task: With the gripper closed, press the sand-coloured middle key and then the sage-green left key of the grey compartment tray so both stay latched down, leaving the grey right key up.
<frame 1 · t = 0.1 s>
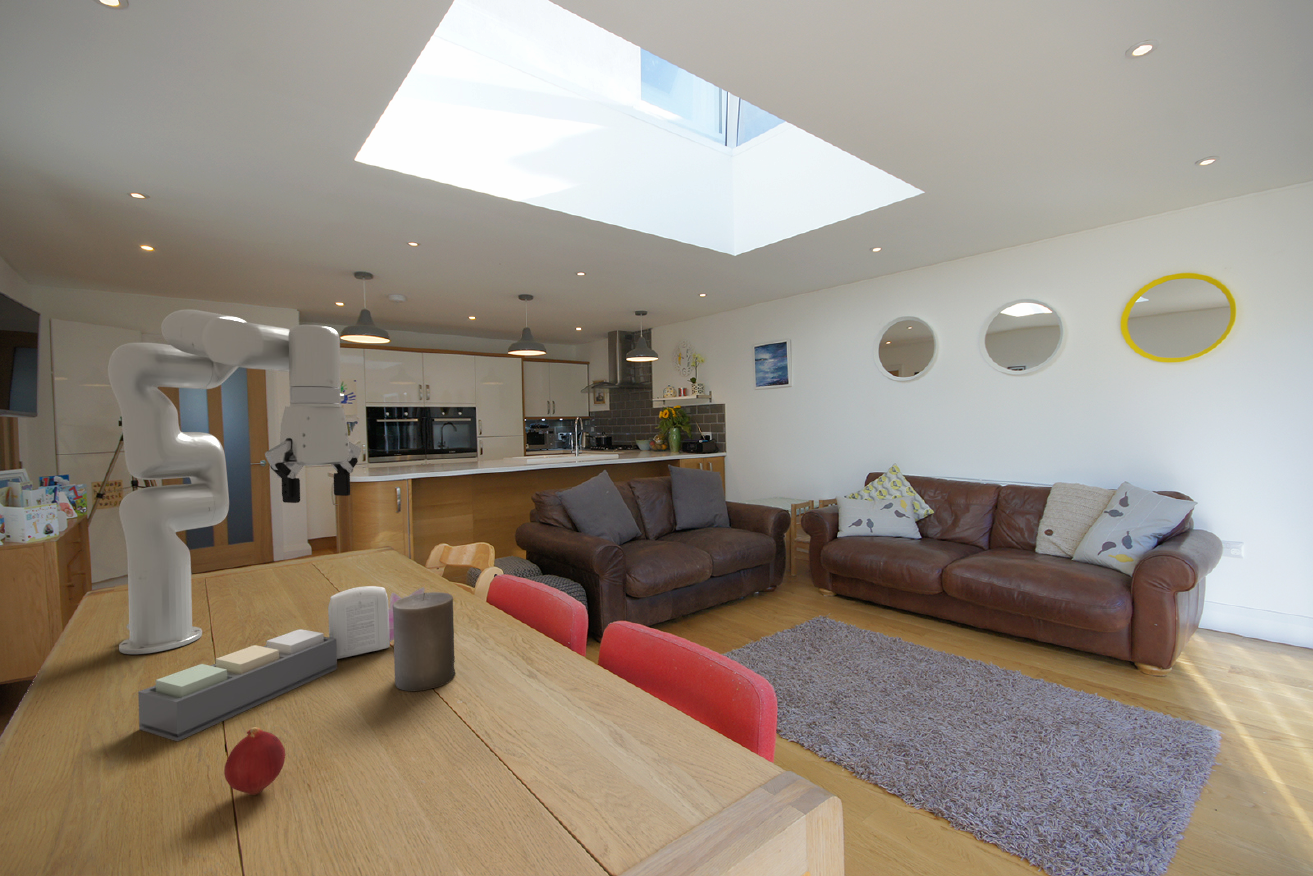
hand: (317, 498, 97), 31 cm above the table, tool pointing down, fingers open, 9 cm apart
grey compartment tray: (248, 696, 91), on the table
key sage: (192, 688, 84), point 5 cm above the table, slide at 0.0 cm
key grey: (295, 648, 99), point 5 cm above the table, slide at 0.0 cm
key sand: (248, 666, 91), point 5 cm above the table, slide at 0.0 cm
pillar candle: (424, 680, 97), on the table
photo printer: (361, 653, 109), on the table, touching lily
onion: (256, 795, 67), on the table
lily: (402, 642, 114), on the table, touching photo printer
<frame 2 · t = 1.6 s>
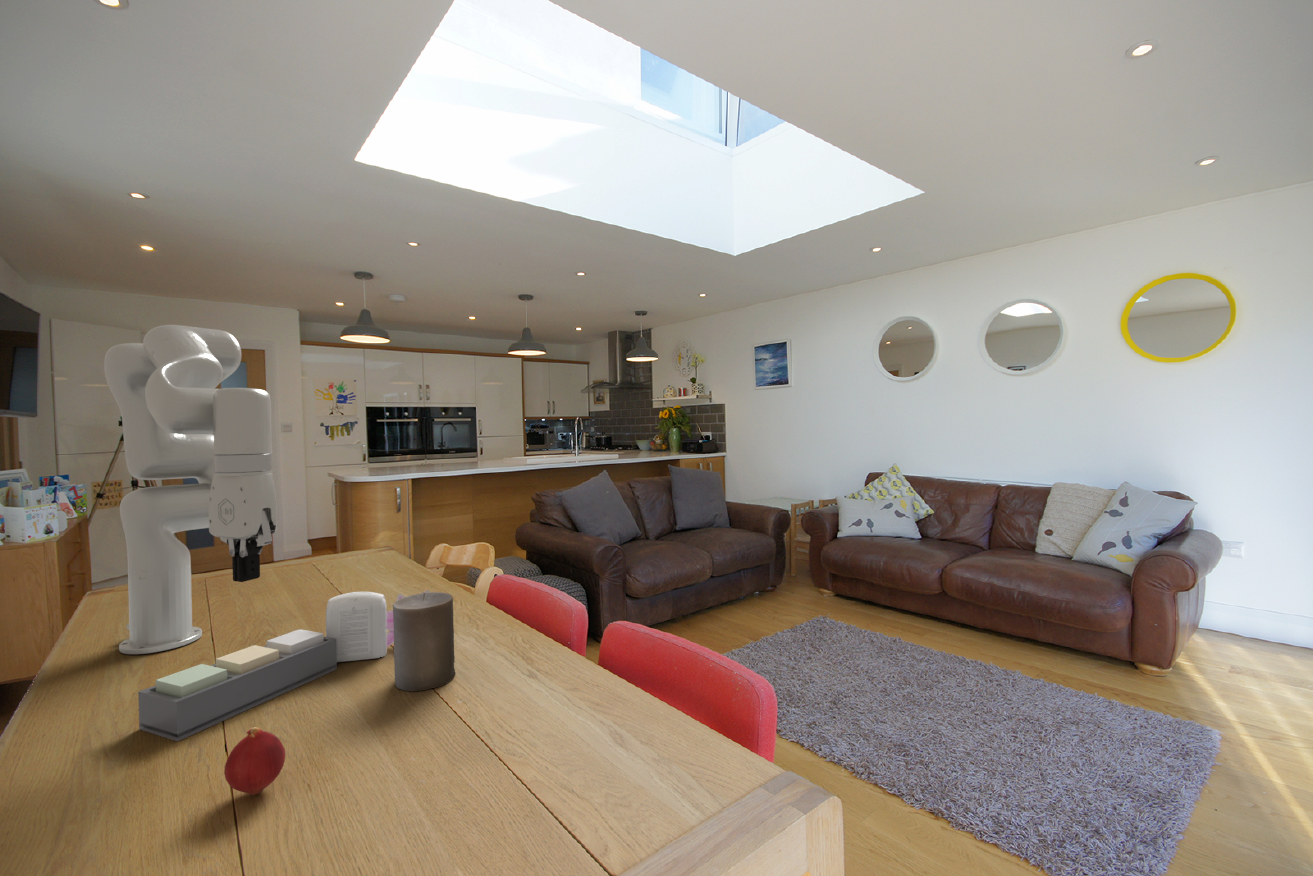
hand: (246, 579, 91), 19 cm above the table, tool pointing down, fingers closed
photo printer: (357, 659, 106), on the table
lily: (406, 644, 114), on the table
everything else where it was.
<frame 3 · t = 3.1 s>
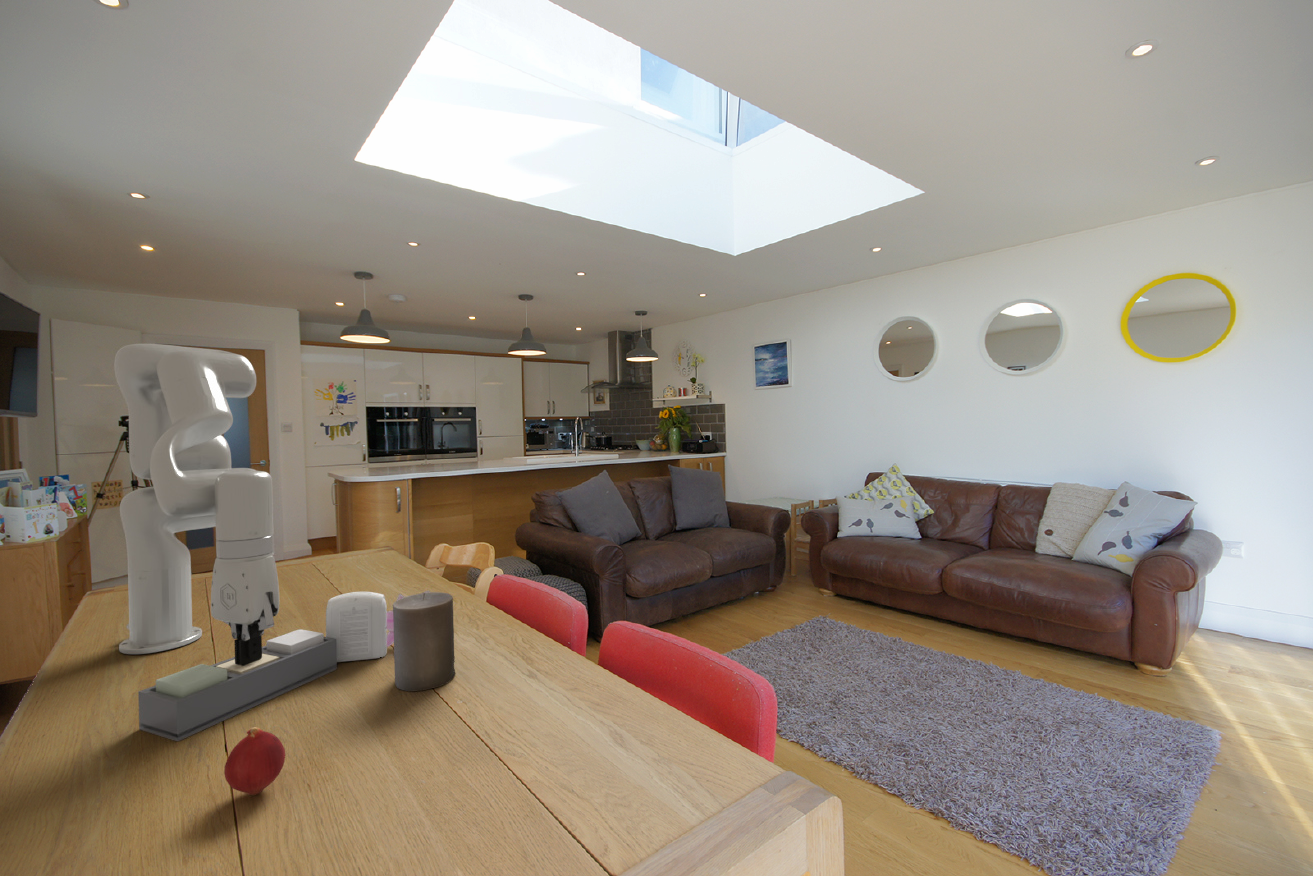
hand: (248, 661, 91), 6 cm above the table, tool pointing down, fingers closed
key sand: (248, 673, 91), point 4 cm above the table, slide at 1.2 cm, touching gripper
everything else where it was.
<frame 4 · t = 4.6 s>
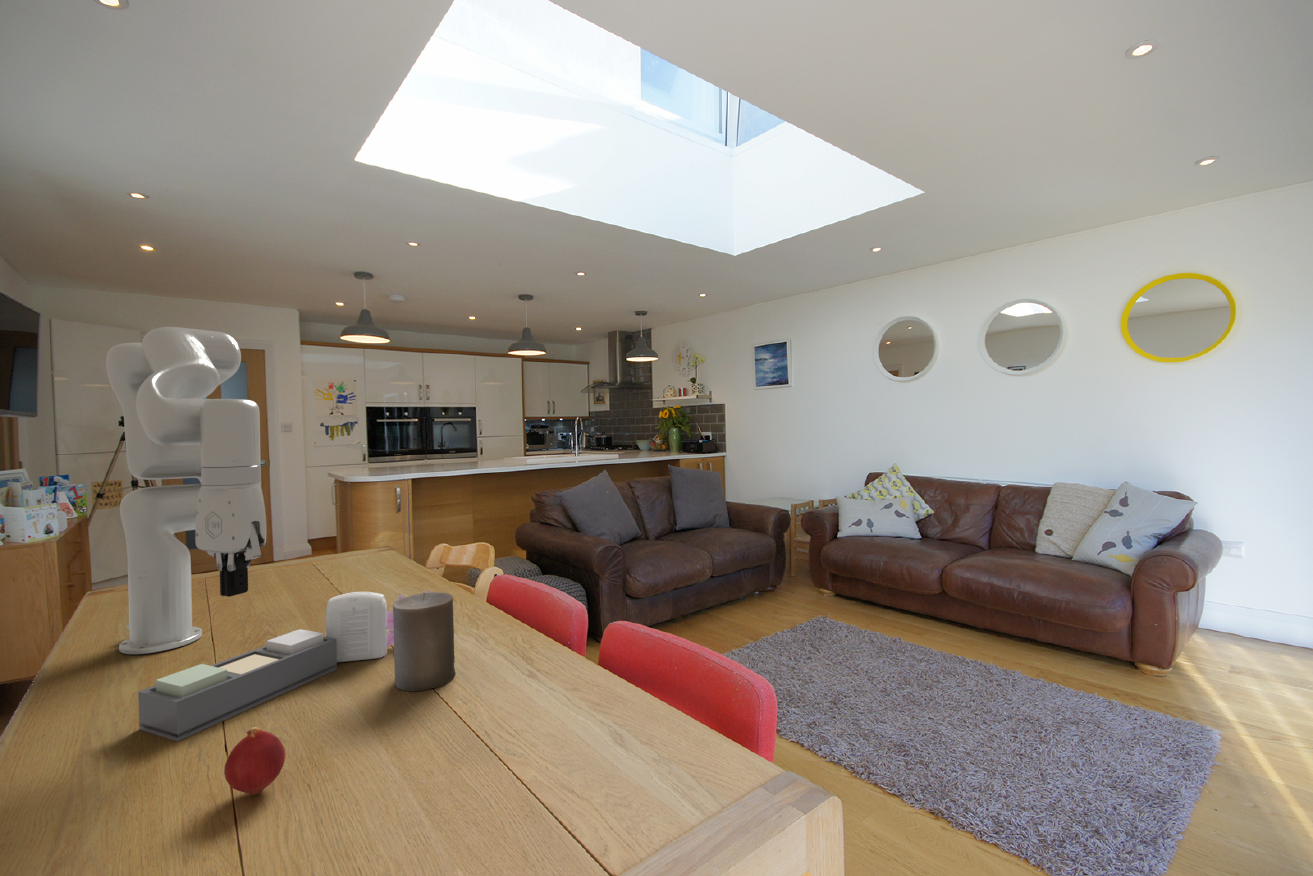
hand: (234, 593, 89), 17 cm above the table, tool pointing down, fingers closed
key sand: (248, 676, 91), point 3 cm above the table, slide at 1.6 cm
everything else where it was.
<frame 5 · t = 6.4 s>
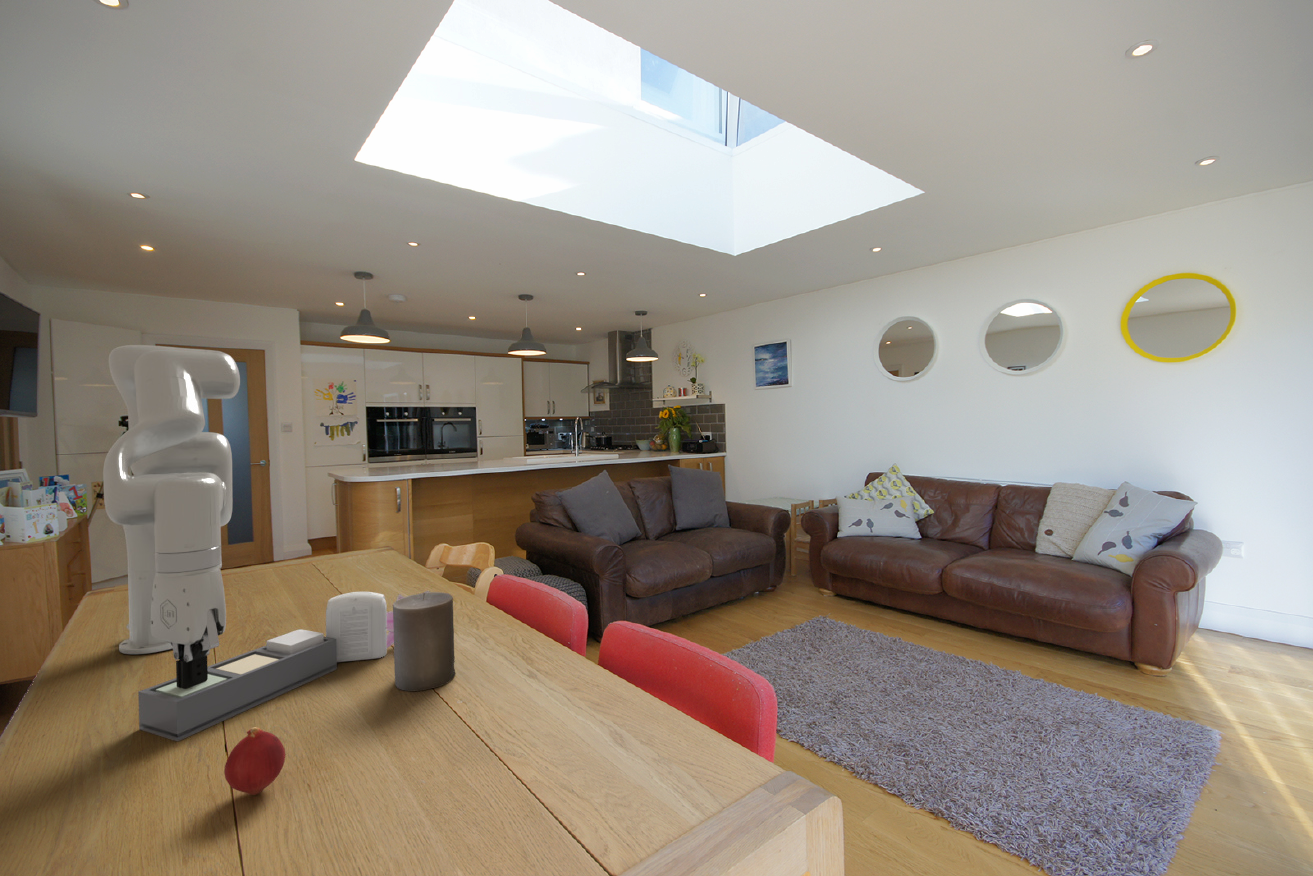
hand: (192, 684, 84), 5 cm above the table, tool pointing down, fingers closed
key sage: (192, 697, 84), point 3 cm above the table, slide at 1.4 cm, touching gripper
everything else where it was.
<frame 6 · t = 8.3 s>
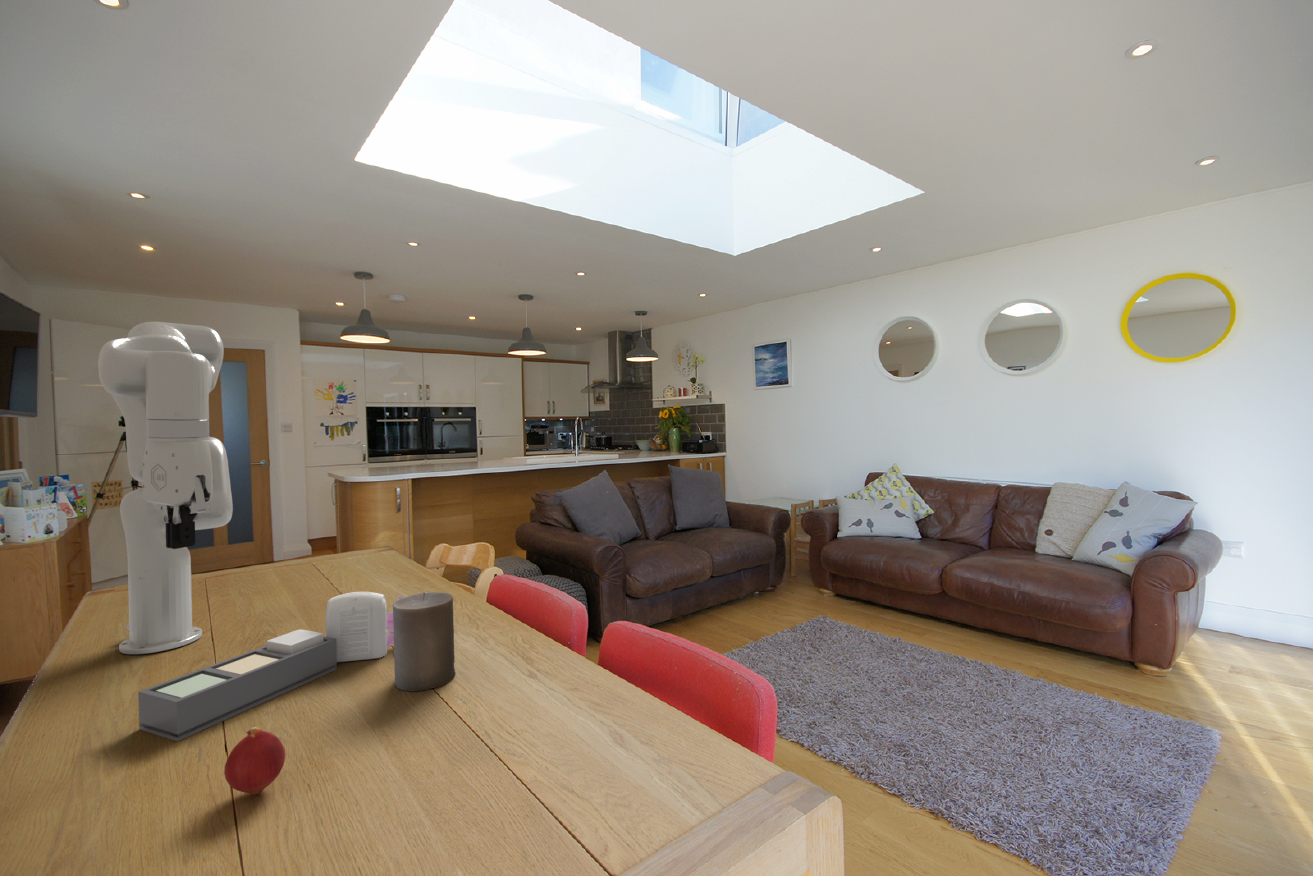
hand: (180, 546, 90), 25 cm above the table, tool pointing down, fingers closed
key sage: (192, 698, 84), point 3 cm above the table, slide at 1.6 cm
everything else where it was.
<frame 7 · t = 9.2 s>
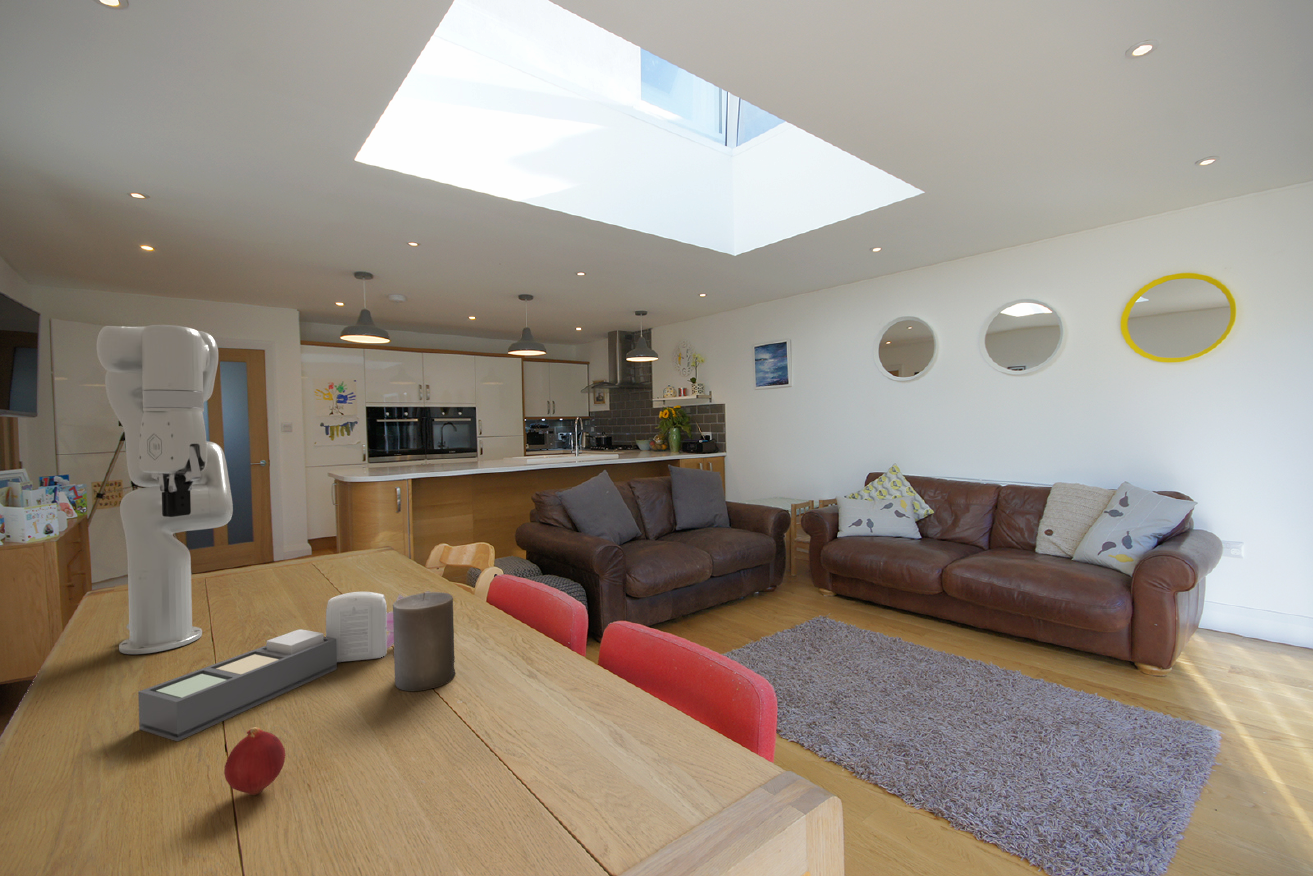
hand: (176, 515, 92), 29 cm above the table, tool pointing down, fingers closed
nothing on the table moved.
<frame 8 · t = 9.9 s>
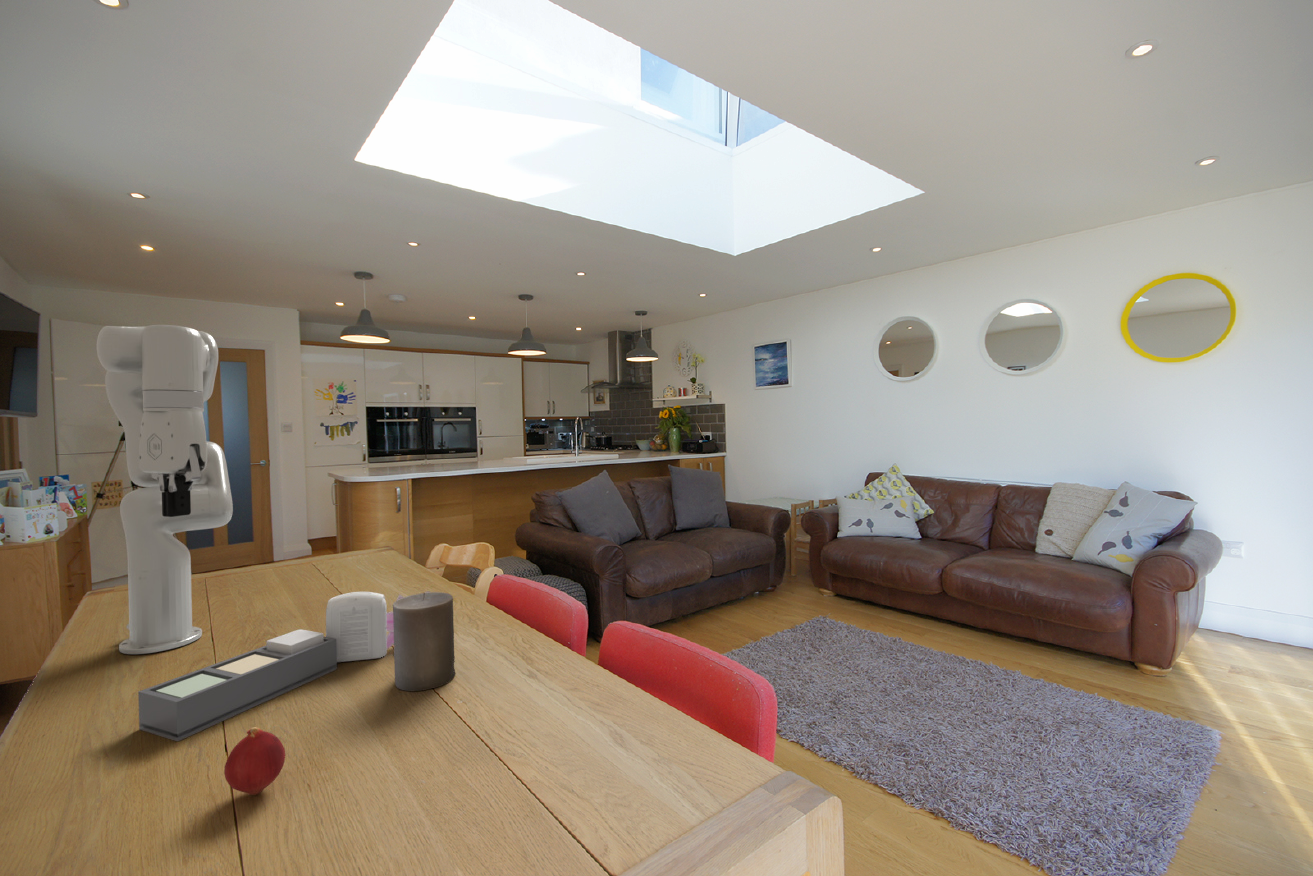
hand: (176, 515, 92), 29 cm above the table, tool pointing down, fingers closed
nothing on the table moved.
at the end: key sand slide at 1.6 cm; key sage slide at 1.6 cm; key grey slide at 0.0 cm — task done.
